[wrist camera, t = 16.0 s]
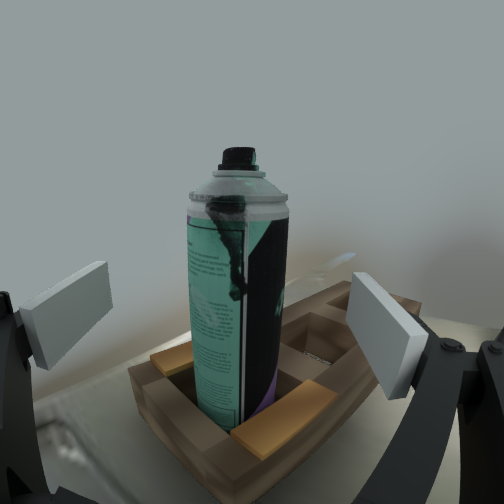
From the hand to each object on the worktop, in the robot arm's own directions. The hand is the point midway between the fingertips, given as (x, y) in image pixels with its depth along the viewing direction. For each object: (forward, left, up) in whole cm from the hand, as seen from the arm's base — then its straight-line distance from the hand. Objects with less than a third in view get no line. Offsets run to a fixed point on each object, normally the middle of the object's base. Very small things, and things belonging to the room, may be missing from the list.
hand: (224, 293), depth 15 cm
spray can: (+1, -2, -13) cm, 13 cm away
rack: (+1, -12, -13) cm, 17 cm away
